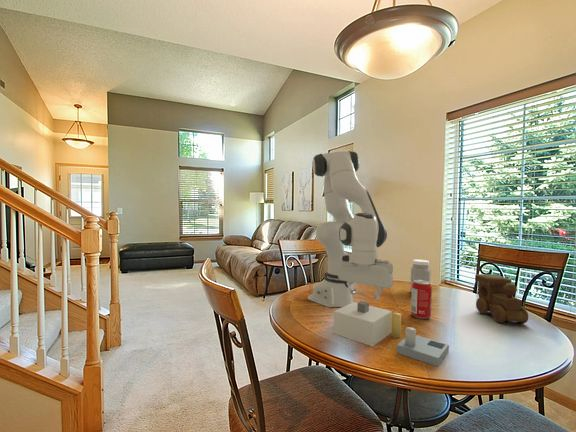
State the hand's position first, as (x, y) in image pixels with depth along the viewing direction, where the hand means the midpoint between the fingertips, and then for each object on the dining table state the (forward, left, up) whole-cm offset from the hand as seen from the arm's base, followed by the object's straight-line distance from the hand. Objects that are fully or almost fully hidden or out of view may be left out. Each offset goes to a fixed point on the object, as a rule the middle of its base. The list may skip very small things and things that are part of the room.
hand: (364, 296), depth 108 cm
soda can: (+10, +33, -14) cm, 37 cm away
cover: (0, 0, -14) cm, 14 cm away
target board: (+21, 0, -14) cm, 25 cm away
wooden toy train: (+35, +57, -14) cm, 68 cm away
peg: (+10, +6, -14) cm, 18 cm away
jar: (-2, +70, -14) cm, 72 cm away
